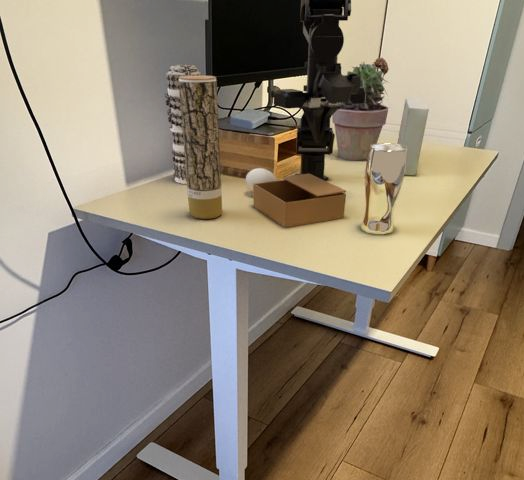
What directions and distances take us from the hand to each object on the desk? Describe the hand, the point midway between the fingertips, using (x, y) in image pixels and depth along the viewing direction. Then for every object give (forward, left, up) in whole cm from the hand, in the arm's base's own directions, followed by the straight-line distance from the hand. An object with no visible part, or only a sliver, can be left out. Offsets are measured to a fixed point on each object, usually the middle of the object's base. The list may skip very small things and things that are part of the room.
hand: (317, 142), depth 104 cm
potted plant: (-30, +31, -12) cm, 45 cm away
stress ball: (-8, -9, -12) cm, 17 cm away
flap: (+7, -5, -7) cm, 10 cm away
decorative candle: (-27, -20, -12) cm, 36 cm away
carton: (+7, -8, -12) cm, 16 cm away
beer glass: (+22, +1, -12) cm, 25 cm away
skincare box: (-15, +38, -12) cm, 43 cm away
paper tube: (0, -26, -12) cm, 29 cm away
